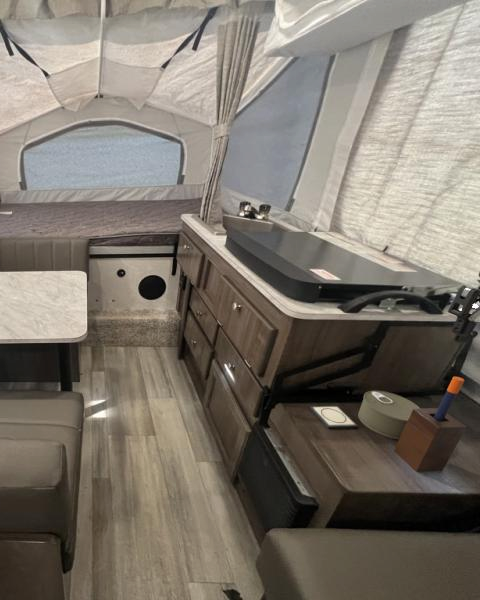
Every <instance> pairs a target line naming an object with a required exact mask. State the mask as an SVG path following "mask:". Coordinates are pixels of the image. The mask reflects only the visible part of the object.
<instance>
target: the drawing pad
mask: <svg viewBox="0 0 480 600" xmlns="http://www.w3.org/2000/svg"><path fill="white" fill-rule="evenodd" d="M309 409H310V410H311V411H312V413H313V414H314V415H315V416H316V417H317V418H318V419H319V420H320V421H321V423H322V424H323V425H324V426H325V428H327V429H357V428H358V427H359V425H358V424H357V423H356V422H355V421H354V420H353V419H352V418H351V417H349V415H347V413H346V412H344V411H343V409H341V408H340V407H339V406H338V405H326V406H325V405H323V406H309Z"/></svg>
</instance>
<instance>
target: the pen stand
mask: <svg viewBox="0 0 480 600" xmlns="http://www.w3.org/2000/svg"><path fill="white" fill-rule="evenodd" d="M438 408H439V407H428V408H427V407H425V408H421V407H420V409H413V410H412V413H411V415H410V417H409V419H408V421H407V423H406V426H405V428H404V430H403V432H402V434H401V436H400V439H399V440H398V441H397V443H396V445H395V447H394V450H393V452H394V453H395V454H396V455H398V457H400V458H401V460H402V461H404V462H405V463H406V464H407V465H408V466H410V468H412V470H413V471H415V472H417V473H418V472H419V473H420V472H443V470H444V468H445V467H446V465H447V463H448V462H449V460H450V458H451V456H452V454H453V453H454V451H455V449H456V447H457V445H458V443H459V442H460V440H461V438H462V437H463V434H464V433H465V432H466V429H467V426H466V425H465V424H463V423H462V422H460V421H459V420H457V419H456V418H454V417H453V416H451V414H448V413H447V414H446V416H445V418H444V420H443V422H439V421H437V420H436V419H435V418H434V416H435V414H436V412H437V410H438Z"/></svg>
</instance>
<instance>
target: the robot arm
mask: <svg viewBox="0 0 480 600" xmlns="http://www.w3.org/2000/svg"><path fill="white" fill-rule="evenodd" d="M478 277H479V278H480V271H479V272H478ZM478 303H479V304H478ZM460 306H462V307H461V308H460ZM472 310H474V311H473V312H471V311H472ZM447 312H448V313H449V314H451V315H454V316H456V317H457V318H456V320H455V322H454V324H453V326H452V328H451V331H452V333H453V334H455V335H457V336H458V337H461V338H462V337H467V336H469V334H470V332H471V329H472V328H473V326H474V324H475V322H476V321H475V320H476V319H477V318H479V317H480V284H479V285H478V286H477V287H471V286H468V285H461V286H460V287H459V289H458V290H457V292H456V293H455V296H454V298H453V299H452V302H451V304H450V306H449V308H448V310H447ZM470 312H471V313H470Z"/></svg>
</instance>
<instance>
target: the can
mask: <svg viewBox="0 0 480 600" xmlns="http://www.w3.org/2000/svg"><path fill="white" fill-rule="evenodd" d="M413 409H421V407H420V406H418V405H417V404H416V403H414V402H413V401H411V400H409V399H408V398H405V397H403V396H401V395H398V394H396V393H392V392H390V391H389V392H388V391H385V390H369V391H366V392H365V393H364V394H363V400H362V402H361V404H360V407H359V411H358V412H357V413H358V414H357V416H358V419H359V421H360V422H361V424H363V425H364V426H365V427H366V428H368V429H369V430H371V431H372V432H374V433H376V434H379V435H381V436H383V437H385V438H389V439H393V440H398V441H399V439H400V436H401V434H402V432H403V430H404V428H405V426H406V423H407V421H408V419H409V417H410V415H411V413H412V410H413Z"/></svg>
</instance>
